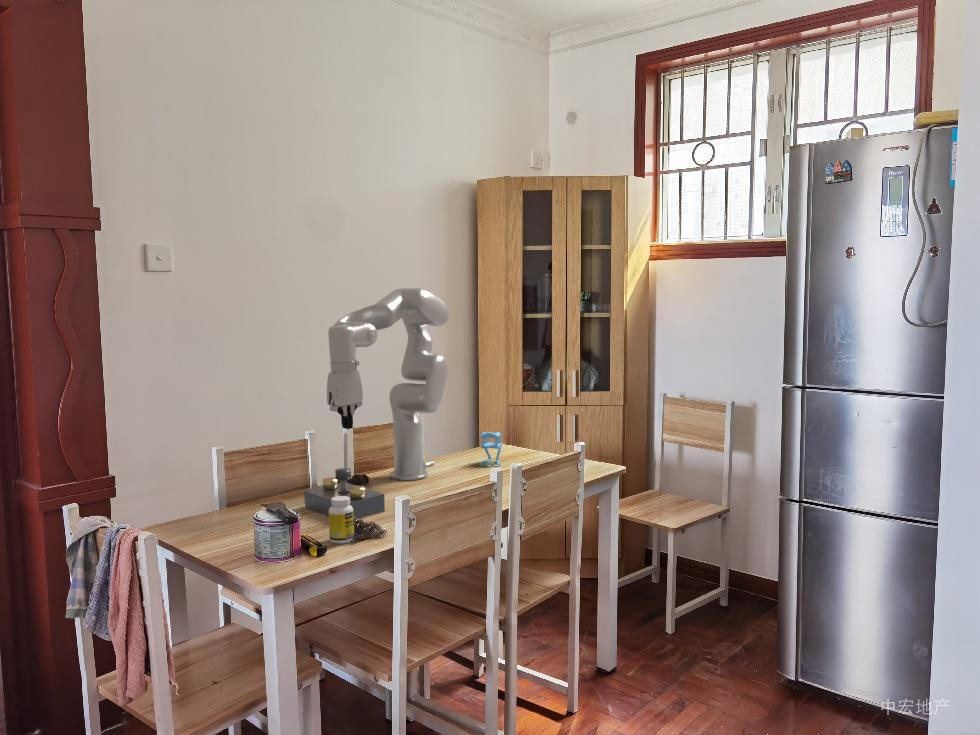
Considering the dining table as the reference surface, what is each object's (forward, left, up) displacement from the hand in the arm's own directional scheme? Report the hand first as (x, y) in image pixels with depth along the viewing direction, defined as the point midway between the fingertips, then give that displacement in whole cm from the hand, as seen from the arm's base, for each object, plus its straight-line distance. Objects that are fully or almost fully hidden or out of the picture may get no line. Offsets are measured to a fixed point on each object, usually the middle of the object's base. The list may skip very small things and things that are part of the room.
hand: (347, 428), depth 237 cm
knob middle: (+6, +6, -18) cm, 20 cm away
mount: (+6, +6, -22) cm, 24 cm away
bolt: (-8, -10, -23) cm, 26 cm away
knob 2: (+6, +13, -22) cm, 27 cm away
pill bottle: (+22, +29, -23) cm, 43 cm away
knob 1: (+6, -1, -22) cm, 23 cm away
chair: (-63, -4, -23) cm, 67 cm away
